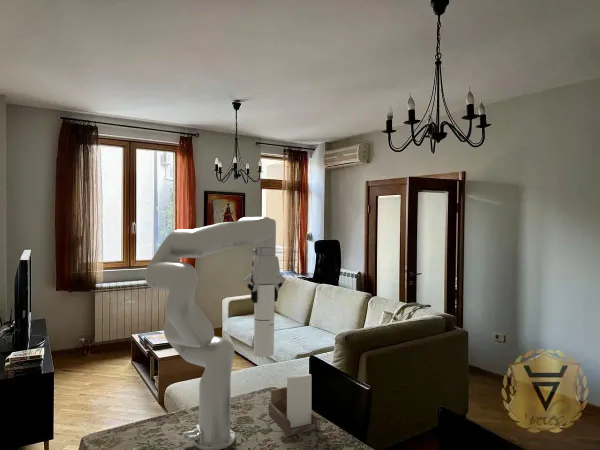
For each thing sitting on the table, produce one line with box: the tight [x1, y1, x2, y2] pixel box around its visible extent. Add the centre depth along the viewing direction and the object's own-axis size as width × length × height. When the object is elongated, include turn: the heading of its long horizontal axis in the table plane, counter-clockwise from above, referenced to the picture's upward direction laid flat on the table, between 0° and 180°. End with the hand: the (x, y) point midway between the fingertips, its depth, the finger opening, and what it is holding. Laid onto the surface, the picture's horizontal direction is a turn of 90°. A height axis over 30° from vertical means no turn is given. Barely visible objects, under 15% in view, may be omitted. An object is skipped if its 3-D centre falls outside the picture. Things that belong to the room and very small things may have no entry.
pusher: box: [286, 373, 313, 428], centre depth 132 cm, size 8×1×16 cm, turn 116°
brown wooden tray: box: [268, 386, 319, 437], centre depth 136 cm, size 11×17×9 cm, turn 26°
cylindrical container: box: [253, 284, 275, 358], centre depth 145 cm, size 7×7×25 cm
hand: (264, 301), depth 145 cm, fingers closed on cylindrical container, 7 cm apart
